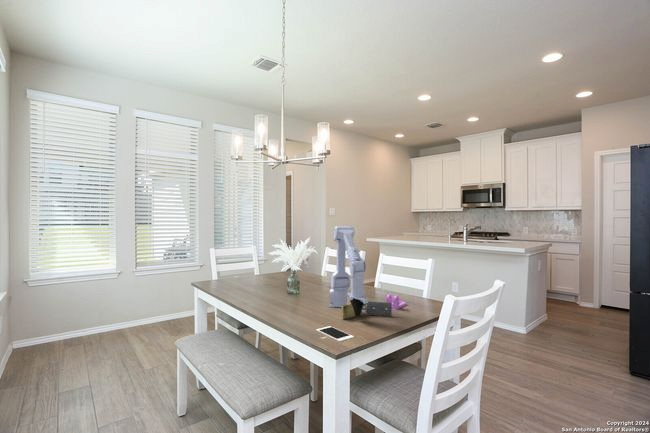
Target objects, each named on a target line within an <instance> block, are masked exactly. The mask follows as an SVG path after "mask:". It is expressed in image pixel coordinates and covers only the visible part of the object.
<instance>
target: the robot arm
mask: <svg viewBox="0 0 650 433" xmlns="http://www.w3.org/2000/svg"><path fill="white" fill-rule="evenodd" d="M354 236H355V228H354V226H353V225H350V226H349V225H346V226H344V225H343V226H342V225H341V226H338V225H336V226H334V228H333V240H334V242H336V270H335V271H334V272H333V273H332V274H331V276H330V287H331V289H329V300H328V301H329V302H328V303H329V304H328V306H329V307H331V308H342V305H346V304H352V306H353V309H354V314H355V316H354V317H359V316H361V315H360V314H361V310H362V307H363V305H364V304H365V303H366V304H367V303H368V301H369V298H368V297H366V296H365V294H364V293H365V292H364V285H365V284H364V283H365V282H364V281H365V279H364V278H365V276H364V275H365V274H364V273H365V272H366V269H367V265H366V261H365V260H364V259H363V258H362V257H361V254H360V252H359V249H358V248H357V247H356V246H355V242H354ZM346 248H347V251H346ZM346 255H347V258H348V261H349V264H348V265H349V267H348V268H349V273H348V272H347V271H346ZM350 288H351V291H350V292H348V290H349V289H350ZM348 297H349V302H350V303H349V302H348Z"/></svg>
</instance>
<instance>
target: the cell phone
mask: <svg viewBox="0 0 650 433" xmlns="http://www.w3.org/2000/svg"><path fill="white" fill-rule="evenodd" d="M315 331H316V332H319V333H321V334H323V335H325V336H326V337H329V338H331V339H333V340H336V341H338V342H342V341H346V340H349V339H354V338H355V336H354V335H351V334H350V333H348V332H345V331H343V330H340V329H339V328H336V327H334V326H331V325H328V326H325V327H322V328H321V327H320V328H316V329H315Z"/></svg>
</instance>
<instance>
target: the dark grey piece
mask: <svg viewBox="0 0 650 433" xmlns="http://www.w3.org/2000/svg"><path fill="white" fill-rule="evenodd" d="M392 303H393V301H392V302H386V301H372V300H371V301H369V300H368V303H365V304H364V305H363V306H366V310H362V315H361V316H379V317H392V315H393V314H392V312H393V311H392V310H393V309H392Z"/></svg>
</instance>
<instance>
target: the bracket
mask: <svg viewBox="0 0 650 433" xmlns="http://www.w3.org/2000/svg"><path fill="white" fill-rule="evenodd" d="M385 302H392V310H395V311H396V310H398V309H400V308H403V307H405V306H406V302H405V301H401V300H400V297H399V295H394V296H393V295H392V294H389V293H388V294H387V295H386V300H385Z"/></svg>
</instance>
